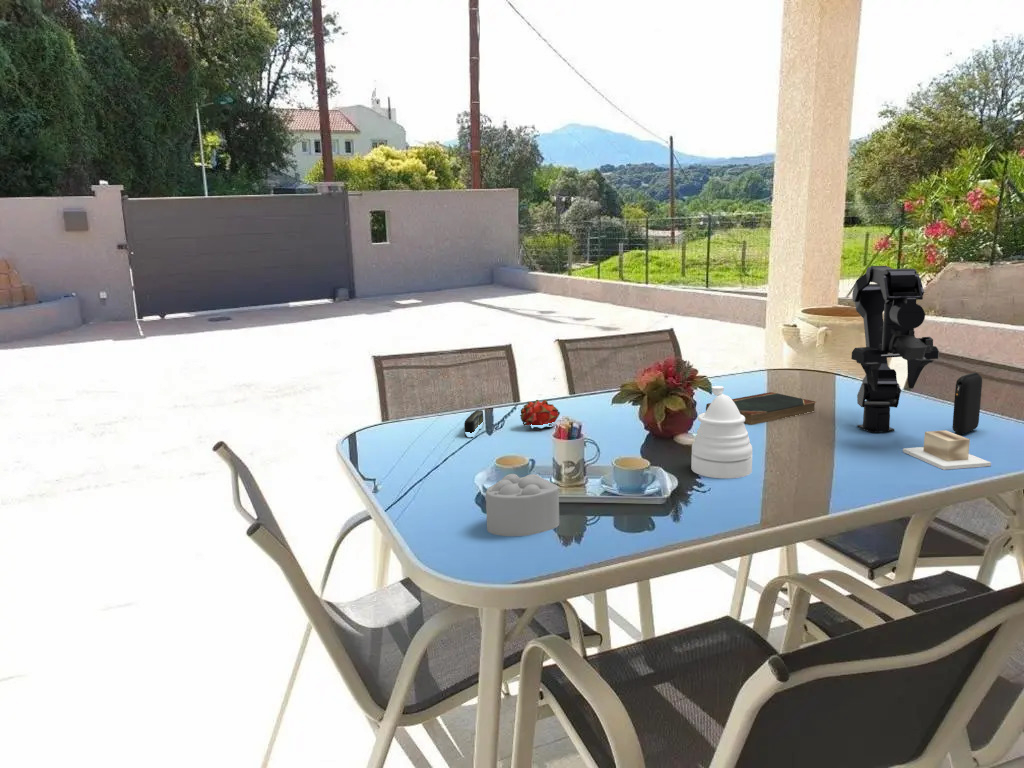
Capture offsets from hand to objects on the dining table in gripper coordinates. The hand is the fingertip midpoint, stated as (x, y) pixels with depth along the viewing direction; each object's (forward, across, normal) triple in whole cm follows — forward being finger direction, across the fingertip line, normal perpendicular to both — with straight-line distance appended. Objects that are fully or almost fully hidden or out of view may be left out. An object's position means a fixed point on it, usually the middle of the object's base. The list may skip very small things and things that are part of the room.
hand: (892, 389), depth 188 cm
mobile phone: (+13, -96, +38) cm, 103 cm away
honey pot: (+13, -46, -10) cm, 49 cm away
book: (+14, -15, +36) cm, 42 cm away
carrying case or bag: (+13, +22, +4) cm, 26 cm away
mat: (+13, +4, -14) cm, 20 cm away
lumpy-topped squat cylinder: (+13, -94, -33) cm, 100 cm away
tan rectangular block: (+12, +4, -14) cm, 19 cm away
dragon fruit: (+13, -78, +36) cm, 87 cm away
